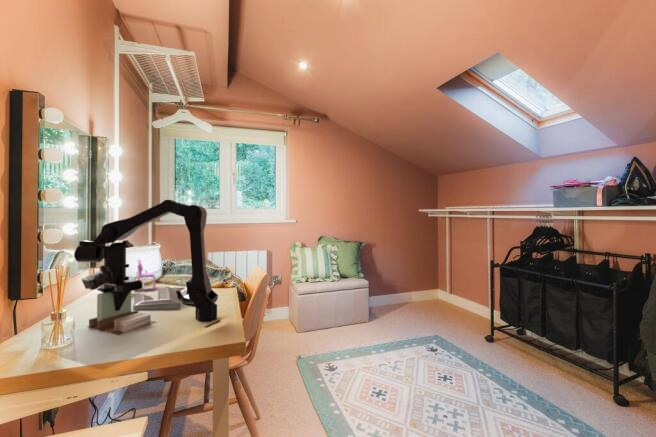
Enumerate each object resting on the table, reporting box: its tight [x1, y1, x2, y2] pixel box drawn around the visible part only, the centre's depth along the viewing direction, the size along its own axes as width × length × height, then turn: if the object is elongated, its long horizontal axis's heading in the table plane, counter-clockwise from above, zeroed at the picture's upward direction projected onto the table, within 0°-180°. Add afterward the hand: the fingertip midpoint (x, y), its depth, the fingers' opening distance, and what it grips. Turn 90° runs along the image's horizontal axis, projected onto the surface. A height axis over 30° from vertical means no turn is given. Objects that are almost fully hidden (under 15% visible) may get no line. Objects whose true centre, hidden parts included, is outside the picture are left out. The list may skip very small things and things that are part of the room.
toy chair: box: [133, 258, 156, 293], centre depth 147 cm, size 8×9×15 cm
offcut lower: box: [114, 319, 152, 333], centre depth 93 cm, size 5×8×2 cm, turn 157°
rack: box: [86, 310, 157, 336], centre depth 95 cm, size 16×12×4 cm
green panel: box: [96, 291, 132, 321], centre depth 96 cm, size 2×9×10 cm, turn 156°
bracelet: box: [131, 277, 145, 297], centre depth 135 cm, size 7×3×8 cm, turn 116°
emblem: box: [132, 286, 194, 311], centre depth 122 cm, size 28×5×28 cm
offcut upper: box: [114, 312, 152, 327], centre depth 93 cm, size 5×8×2 cm, turn 156°
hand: (114, 309), depth 96 cm, fingers closed on green panel, 2 cm apart
